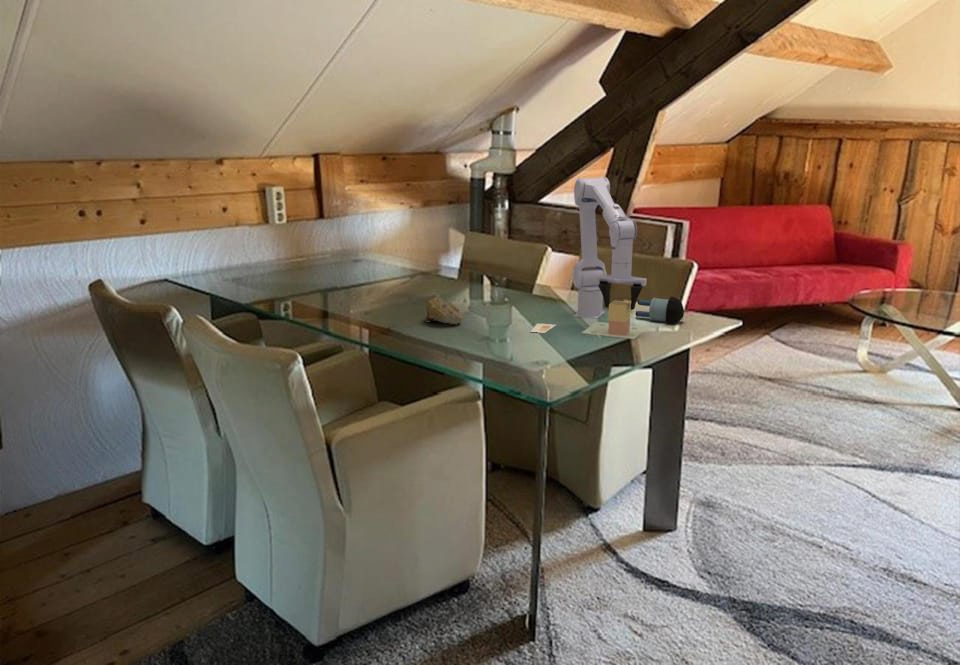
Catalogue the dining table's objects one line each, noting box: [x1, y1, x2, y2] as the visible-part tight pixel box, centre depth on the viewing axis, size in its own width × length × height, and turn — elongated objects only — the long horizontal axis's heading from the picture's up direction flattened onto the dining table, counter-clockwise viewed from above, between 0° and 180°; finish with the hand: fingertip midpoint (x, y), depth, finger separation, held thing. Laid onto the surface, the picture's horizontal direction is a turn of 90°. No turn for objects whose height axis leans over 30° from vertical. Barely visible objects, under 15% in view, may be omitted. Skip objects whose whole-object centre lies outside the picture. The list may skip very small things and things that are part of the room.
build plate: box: [581, 321, 648, 340], centre depth 221 cm, size 14×16×1 cm
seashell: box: [425, 293, 464, 325], centre depth 232 cm, size 11×14×10 cm
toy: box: [635, 296, 685, 325], centre depth 230 cm, size 8×9×15 cm
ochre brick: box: [608, 300, 631, 322], centre depth 217 cm, size 5×5×5 cm
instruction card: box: [529, 323, 557, 334], centre depth 225 cm, size 10×7×1 cm
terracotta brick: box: [608, 318, 631, 335], centre depth 218 cm, size 5×5×4 cm
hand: (619, 307), depth 216 cm, fingers open, 7 cm apart
